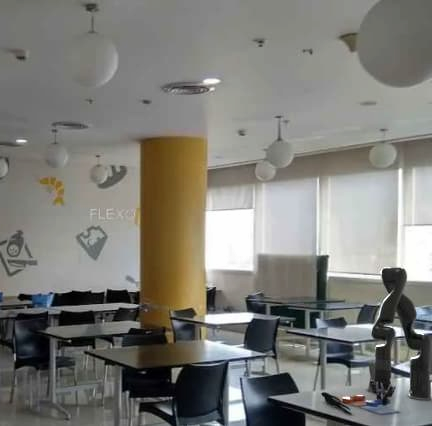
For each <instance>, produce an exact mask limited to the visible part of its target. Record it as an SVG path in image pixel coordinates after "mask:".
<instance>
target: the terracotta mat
mask: <svg viewBox="0 0 432 426" xmlns="http://www.w3.org/2000/svg"><path fill="white" fill-rule="evenodd" d="M338 398H339V399H340V401H341V402H342V397H338ZM335 400H337V399H335ZM337 401H338V400H337ZM366 401H367V400H363V401H353V403H347V404H348V405H350V406H354V407H362V406H367V405H366Z"/></svg>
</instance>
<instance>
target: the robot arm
mask: <svg viewBox="0 0 432 426" xmlns="http://www.w3.org/2000/svg"><path fill="white" fill-rule="evenodd" d="M380 278H381V281H382V284H383V286H384V288H385V290H386V292H387V294H388V296H386V298H385V299H384V300H383V301H382V303H381V305H380V308H379V313H378V316H377V318H376V321H375V322H374V324H373V326H372V327H371V331H370V334H371V337H372V339H373V340H375V341H382V342H385V343H384V344H380V345H379V344H378V345H376V346H375V347H374V360H373V361H374V377H375V379H374V381H370V380H369V382H370V385H371V388H372V391H373V392H372V394H374V395H376V400H377V399H383V405H382V406H383V407H386V406H388V405H389V404H388V399H389V398H392V397H393V394H394V392H395V390H396V386H395V385H392V381H391V379H392V348H393V344H394V342H395V338H396V330H395V328H394V327H392V326H388V325H392V324H394V322H395V319H396V316H397V318H398V320H399V322H400V325H401V328H402V331H403V335H404V338H405V342H406V346H407V347H408V349H409V350H411V351H415V352H419V355H417V356H414V357H411V358H410V359H409V389H408V393H409V394H408V395H409V398H410V399H411V398H412V399H415V400H419V401H430V400H431V398H432V381H431V360H432V337H431V336H430V335H429V334H426V333H418V332H416V331H415V329H414V324H415V321H416V320H417V317H418V312H417V309H416V307H415V304H414V302H413V300H412V299H410V298H409V297H408V296H407V295H406V294H404V293H403V292H404V289H405V287H406V284H407V280H408V273H407V270H406V269H405V268H404V267H401V266H400V267H397V266H396V267H384V268H382V269H381V271H380ZM386 325H387V326H386ZM374 388H375V389H374ZM384 390H385V391H384Z"/></svg>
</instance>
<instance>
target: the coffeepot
mask: <svg viewBox="0 0 432 426" xmlns="http://www.w3.org/2000/svg"><path fill="white" fill-rule="evenodd" d="M374 361H375V360H372V361H371V360H370V361H368V371H369V376H370V378H369V383H368V388H367V391H368V392H370V393H373V391H372V388H371V385H370V381H374V379H375V377H374ZM374 389H375V388H374ZM384 391H386V390H384Z"/></svg>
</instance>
